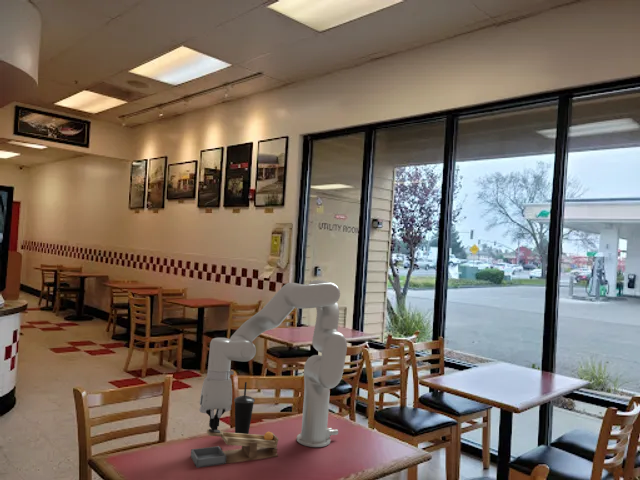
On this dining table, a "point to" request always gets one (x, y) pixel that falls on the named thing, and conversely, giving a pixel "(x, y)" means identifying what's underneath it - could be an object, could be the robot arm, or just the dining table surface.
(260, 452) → the catapult base
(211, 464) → the tray
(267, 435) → the ball
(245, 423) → the drinking cup
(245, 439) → the lever
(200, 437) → the dining table surface
